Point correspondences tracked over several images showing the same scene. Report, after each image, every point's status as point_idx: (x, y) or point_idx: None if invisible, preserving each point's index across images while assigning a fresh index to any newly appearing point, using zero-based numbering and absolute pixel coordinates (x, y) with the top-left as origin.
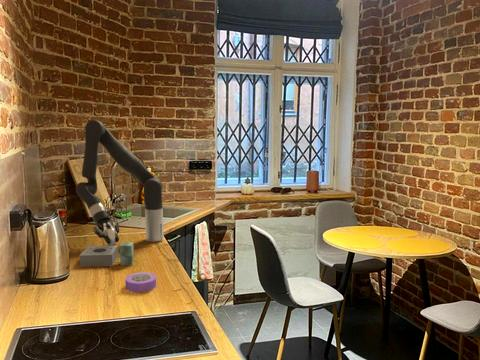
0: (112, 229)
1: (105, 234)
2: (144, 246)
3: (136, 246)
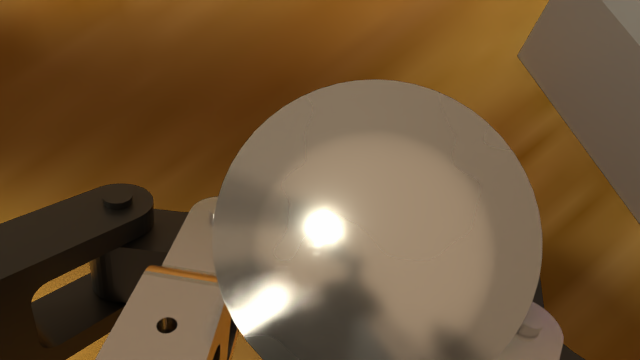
0: (435, 104)
1: (539, 331)
2: (92, 24)
3: (116, 101)
